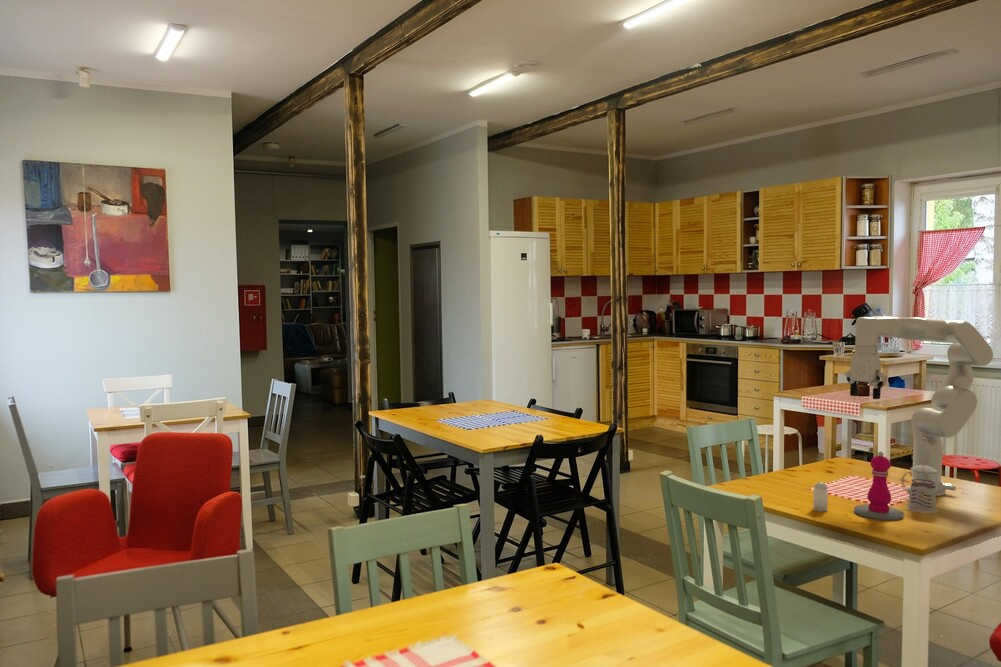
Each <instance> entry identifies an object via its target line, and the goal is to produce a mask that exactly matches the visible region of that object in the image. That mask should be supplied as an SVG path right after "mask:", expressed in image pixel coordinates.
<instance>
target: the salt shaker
mask: <svg viewBox="0 0 1001 667" xmlns="http://www.w3.org/2000/svg"><path fill="white" fill-rule="evenodd" d="M828 492H829V488H828V485H827V484H826V483H825V482H823V481H819V482H816V483H815V484H814V486H813V510H814V509H815V510H814V511H816V510H818V511H817V512H827V511H828V494H829V493H828Z"/></svg>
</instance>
